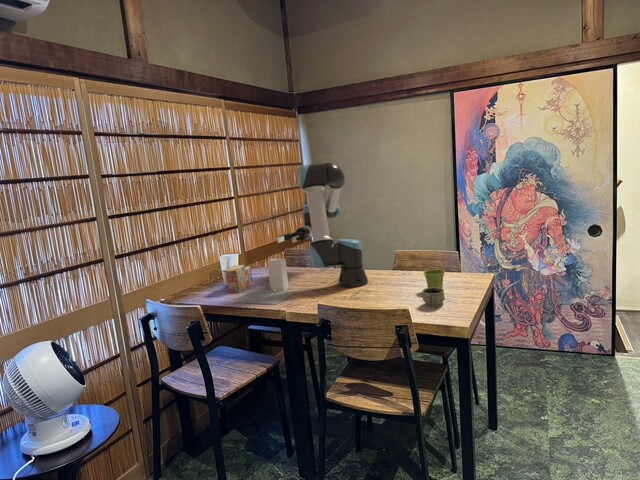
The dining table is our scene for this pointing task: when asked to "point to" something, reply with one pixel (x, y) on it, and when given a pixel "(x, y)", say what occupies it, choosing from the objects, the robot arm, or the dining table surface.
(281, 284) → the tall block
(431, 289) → the vessel
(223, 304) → the dining table surface
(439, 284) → the plant pot
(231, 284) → the multicoloured rectangular box
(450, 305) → the dining table surface
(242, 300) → the rubber mat
